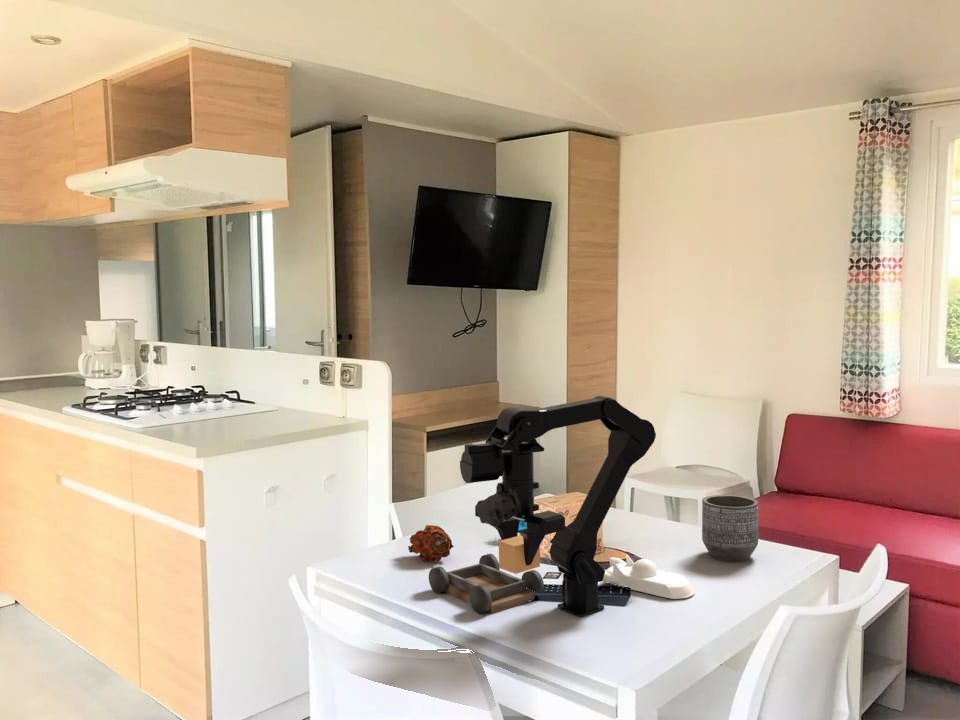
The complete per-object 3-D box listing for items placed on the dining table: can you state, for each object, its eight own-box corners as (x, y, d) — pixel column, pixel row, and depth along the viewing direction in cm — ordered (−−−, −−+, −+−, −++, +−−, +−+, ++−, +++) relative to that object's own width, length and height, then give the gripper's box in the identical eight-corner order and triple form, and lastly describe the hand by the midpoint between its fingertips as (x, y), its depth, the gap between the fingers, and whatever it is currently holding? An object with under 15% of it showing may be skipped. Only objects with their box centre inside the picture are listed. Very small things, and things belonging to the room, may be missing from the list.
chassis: (544, 598, 159) (543, 573, 159) (485, 616, 150) (485, 590, 150) (485, 574, 174) (484, 551, 174) (428, 589, 165) (428, 565, 165)
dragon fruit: (449, 572, 180) (413, 569, 188) (467, 543, 186) (431, 541, 193) (430, 547, 177) (393, 545, 185) (448, 517, 182) (412, 517, 190)
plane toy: (681, 606, 154) (681, 576, 154) (589, 585, 166) (589, 558, 166) (702, 590, 162) (702, 562, 162) (614, 572, 174) (613, 545, 174)
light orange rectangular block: (540, 566, 148) (539, 539, 147) (515, 573, 144) (515, 546, 143) (523, 560, 151) (522, 534, 151) (499, 567, 147) (498, 541, 147)
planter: (770, 559, 180) (770, 503, 179) (728, 568, 175) (728, 509, 174) (731, 545, 191) (731, 492, 190) (690, 552, 186) (690, 498, 185)
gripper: (451, 476, 148) (453, 559, 150) (519, 493, 134) (521, 584, 135) (497, 467, 156) (498, 547, 157) (566, 482, 141) (568, 570, 142)
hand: (519, 561), depth 147 cm, fingers closed on light orange rectangular block, 4 cm apart
